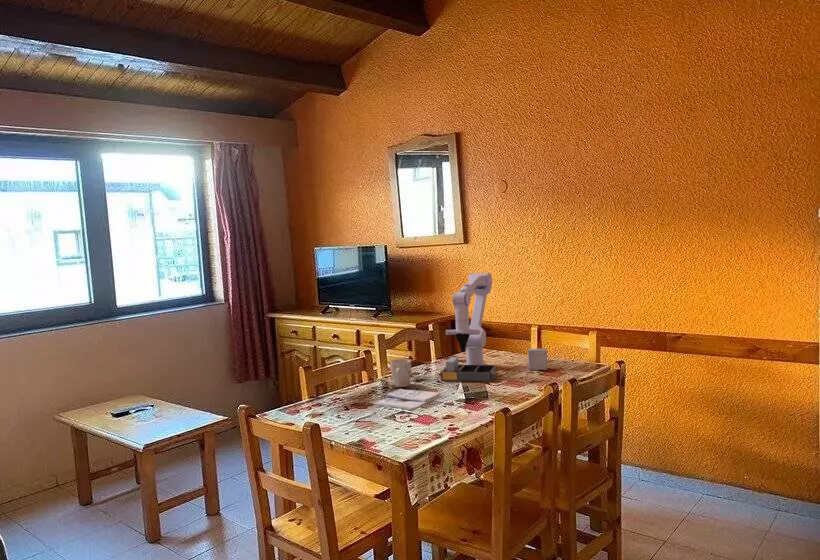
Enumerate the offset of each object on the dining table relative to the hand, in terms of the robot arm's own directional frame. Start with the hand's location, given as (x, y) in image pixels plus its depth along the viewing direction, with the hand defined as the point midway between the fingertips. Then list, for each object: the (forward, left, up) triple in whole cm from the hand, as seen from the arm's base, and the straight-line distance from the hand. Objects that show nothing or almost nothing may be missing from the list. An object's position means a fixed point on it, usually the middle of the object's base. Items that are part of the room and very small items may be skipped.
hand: (463, 351), depth 263 cm
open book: (+40, -14, -11) cm, 44 cm away
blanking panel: (+6, -4, -9) cm, 12 cm away
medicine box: (-11, +30, -10) cm, 34 cm away
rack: (+5, +3, -10) cm, 12 cm away
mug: (+21, -22, -10) cm, 32 cm away
